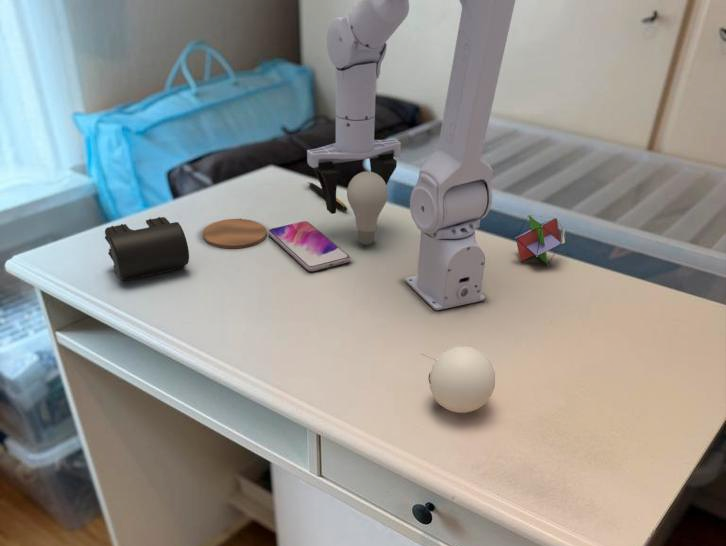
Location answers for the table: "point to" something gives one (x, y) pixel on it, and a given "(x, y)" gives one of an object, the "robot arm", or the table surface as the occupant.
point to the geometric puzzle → (539, 240)
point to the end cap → (147, 248)
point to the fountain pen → (320, 191)
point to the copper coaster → (234, 233)
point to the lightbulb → (367, 203)
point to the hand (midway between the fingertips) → (353, 207)
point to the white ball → (462, 379)
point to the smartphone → (309, 246)
